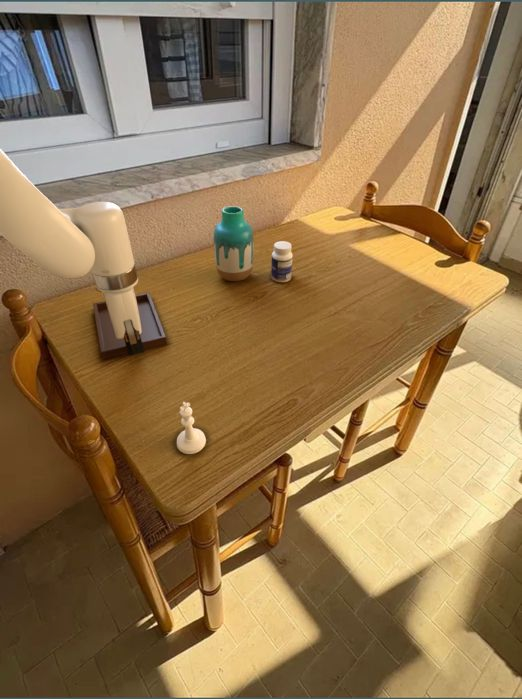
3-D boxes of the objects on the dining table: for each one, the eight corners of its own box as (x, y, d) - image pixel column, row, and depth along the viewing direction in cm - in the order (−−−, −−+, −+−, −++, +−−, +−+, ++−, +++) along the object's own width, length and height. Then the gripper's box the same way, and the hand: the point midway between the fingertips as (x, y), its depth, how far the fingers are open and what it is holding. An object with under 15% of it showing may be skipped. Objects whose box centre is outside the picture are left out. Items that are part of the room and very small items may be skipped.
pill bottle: (269, 273, 109) (270, 240, 102) (289, 272, 109) (291, 239, 103) (272, 283, 105) (273, 250, 98) (292, 282, 105) (295, 249, 99)
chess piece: (171, 440, 65) (161, 401, 58) (194, 425, 68) (188, 386, 61) (187, 459, 62) (179, 420, 56) (211, 442, 65) (206, 403, 58)
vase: (216, 288, 102) (211, 218, 90) (215, 269, 110) (210, 202, 98) (255, 286, 103) (256, 217, 91) (251, 267, 111) (251, 201, 99)
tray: (103, 359, 80) (100, 352, 79) (95, 310, 94) (92, 303, 92) (167, 344, 84) (165, 336, 83) (150, 299, 98) (149, 292, 97)
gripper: (90, 260, 73) (113, 335, 85) (96, 300, 62) (122, 379, 74) (130, 253, 75) (147, 327, 87) (143, 291, 64) (160, 369, 76)
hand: (136, 351), depth 80 cm, fingers closed
